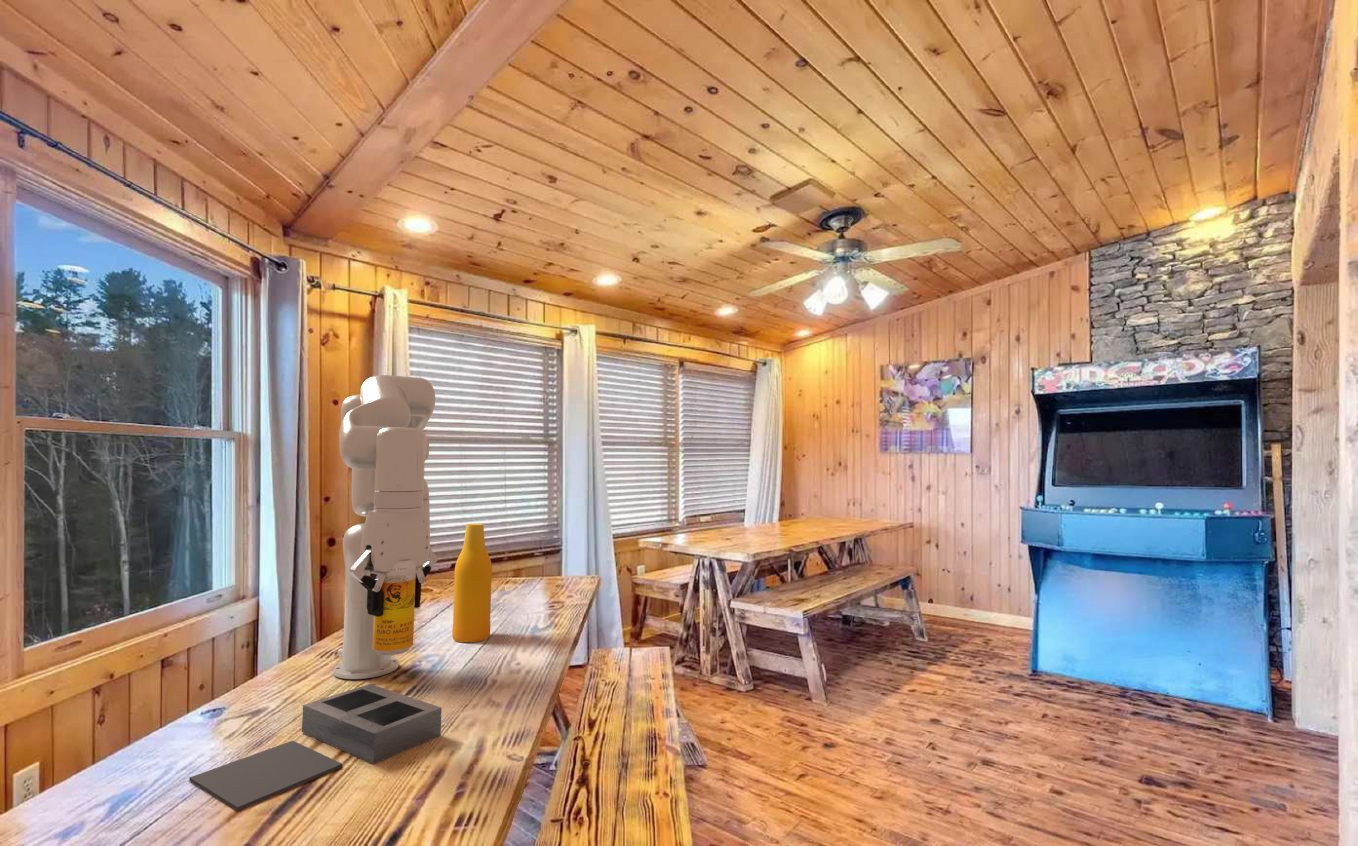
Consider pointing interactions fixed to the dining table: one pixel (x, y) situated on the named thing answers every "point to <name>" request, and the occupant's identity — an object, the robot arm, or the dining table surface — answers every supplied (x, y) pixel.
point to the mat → (264, 774)
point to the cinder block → (371, 722)
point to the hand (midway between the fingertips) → (394, 609)
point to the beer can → (396, 611)
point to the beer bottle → (472, 588)
